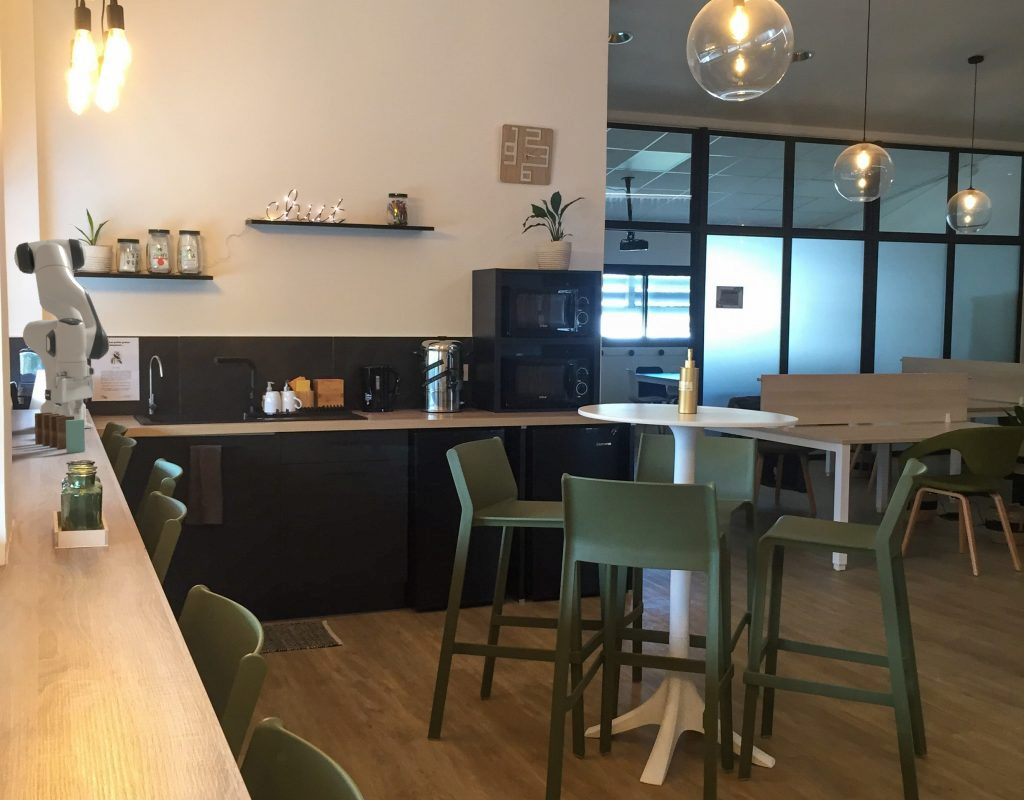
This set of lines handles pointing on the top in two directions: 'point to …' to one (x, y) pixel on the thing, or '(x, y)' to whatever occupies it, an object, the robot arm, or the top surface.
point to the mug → (72, 406)
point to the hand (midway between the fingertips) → (73, 414)
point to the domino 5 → (75, 436)
